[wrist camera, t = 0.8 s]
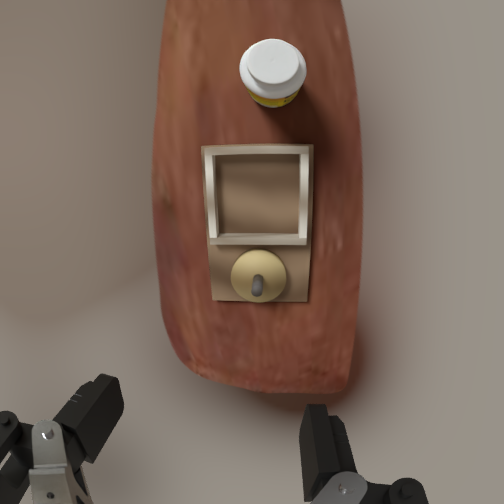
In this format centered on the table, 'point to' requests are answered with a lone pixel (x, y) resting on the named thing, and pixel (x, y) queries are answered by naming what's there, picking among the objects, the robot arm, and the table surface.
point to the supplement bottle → (273, 72)
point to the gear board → (258, 220)
